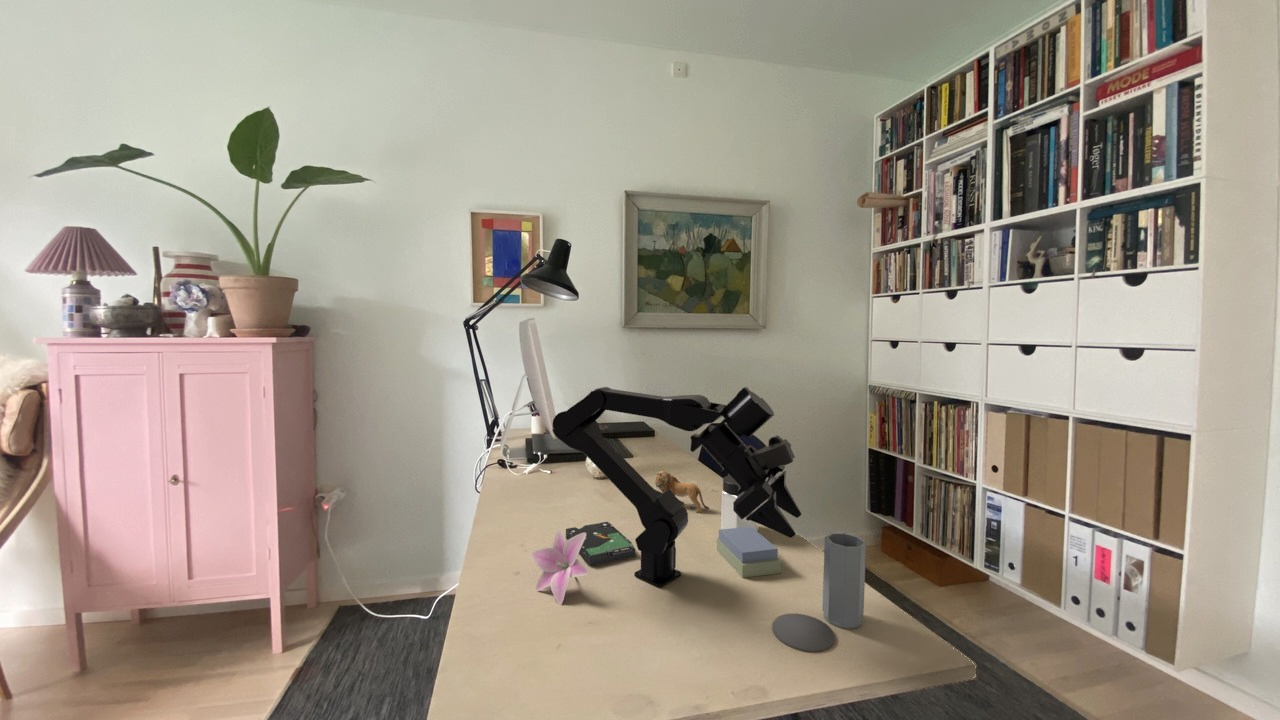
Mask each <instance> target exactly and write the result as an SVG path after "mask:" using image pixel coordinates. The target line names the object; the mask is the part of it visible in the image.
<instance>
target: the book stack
mask: <svg viewBox="0 0 1280 720" xmlns="http://www.w3.org/2000/svg"><path fill="white" fill-rule="evenodd" d="M716 551H717V552H718V553H719V554H720V555H721V557H722V558H724V560H725V561H726V562H727V563H728V564H729V565H730V566H731V567H732V569H734V570H735V571H736V573H737V574H738V575H739V576H740V577H741V578H742V579H743V578H750V577H759V576H768V575H774V574H781V573H782V560H781V559H780V558H779V557H778V555H779V550H778V547H776V546H775V545H774V544H773V543H771V541H769V540H768V539H767V538H766V537H764V536H763V535H762V534H761V533H759V532H758V531H756V530H755V529H753V528H752V527H742V528H731V529H721V528H720V529H718V538H716Z"/></svg>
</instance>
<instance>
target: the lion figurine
mask: <svg viewBox="0 0 1280 720" xmlns="http://www.w3.org/2000/svg"><path fill="white" fill-rule="evenodd" d="M654 485H655V487H656V488H657V489H659V491H660V492H661V493H664V492H665V491H666V490H667V489H670V490H671V491H672V492H673V494H674V495H675V496H676V497H680V498H684V497H685V498H686V497H687V496H688V498H689V499H690V501H691V503H692V504H690V508H696V509H695V513H696V514H697V513H698V514H700V513H701V512H702V506H703V508H704V509H705V510H710V507H709V506H707V505H705V502H704V500H703V495H702V492H701V489H700V488H699V487H698V485H697V484H695V483H691V482H690V483H689V482H688V483H685V482H681V481H679V480H678V479H677V477H675V476H673V475H671V473H669V472H667V471H664V470H662V471H661V470H660V471H657V472H656V473H655V478H654ZM698 496H699V499H700V502H701V503H700V502H699V500H698ZM701 505H702V506H701Z"/></svg>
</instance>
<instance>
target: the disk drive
mask: <svg viewBox="0 0 1280 720" xmlns="http://www.w3.org/2000/svg"><path fill="white" fill-rule="evenodd" d="M584 532H585V533H586V537H585V540H584V542H583V544H582V546H581V549H580V551H579V553H578V555H579V556H580V557H581V558H582V560H583V561H584V562H585V564H586V565H587V566H588V567H593V566H598V565H604V564H607V563H612V562H617V561H618V562H619V561H623V560H626V559H630V558H635V557H636V550H637V549H636V548H635V546H634V544H633V543H632V541H631V540H629V539H628V538H627V537H626V536H625V535H623V534H622V533H621V532H620V531H619V530H618V529H617V528H616V527H615V526H614V525H613V524H611V522H609V521H603V522H598V523H591V524H586V525H584V526H582V527H581V528H577V527H576V526H575V527H568V528H565V540H566V542H567V541H568V540H569V539H570V538H572V537H574V536H576V535H578V534H581V533H584Z"/></svg>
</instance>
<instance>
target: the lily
mask: <svg viewBox="0 0 1280 720" xmlns="http://www.w3.org/2000/svg"><path fill="white" fill-rule="evenodd" d="M585 537H586V533H585V532H584V533H581V534H578V535H576V536H574V537H572V538H570V539H569V540H568V541H567V539H566V537H565V536H564V534H563V532H562V530H561V529H560V528H559V529H558V530H557V532H556V534H555V536H554V539H553V542H552V543H553V544H552V547H542V548H541V547H540V548H538V549H535V550H533V551H531V552H530V557H531V560H532V561H533V563H535V564H536V566H537V567H538V568H539V569H540V570H541V571H543V572H542V574H541V575H540V577H539V579H538V580H537V584H536V586H535V592H539V591H542V590H543V589H545V588H547V587H549V586H550V589H551V593H552V596H553V597H554V600H555V601H556V602H557V604H558V605H562V604H563V602H564V599H565V594H566V591H567V588H568V584H569V581H570V578H574V579H575V580H577V579H578V578H579V577H582V576H583V577H584V576H586V575H588V574H589V570H588V569H587V567H586V566H585V564H583V563H582V562H581V561H580V560H579V559H578V555H579V554H578V553H579V551H580V549H581V546H582V544H583V542H584V540H585Z"/></svg>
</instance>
